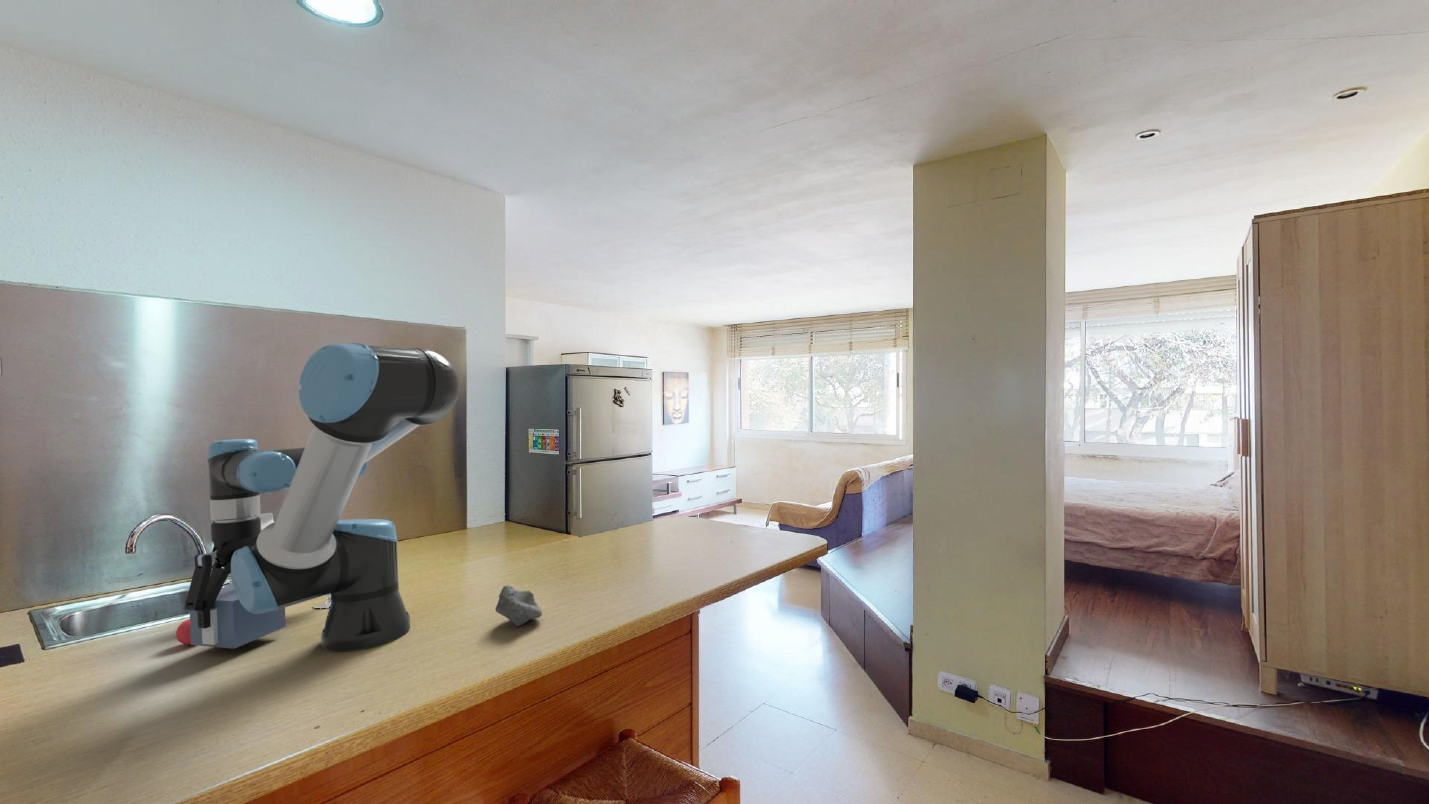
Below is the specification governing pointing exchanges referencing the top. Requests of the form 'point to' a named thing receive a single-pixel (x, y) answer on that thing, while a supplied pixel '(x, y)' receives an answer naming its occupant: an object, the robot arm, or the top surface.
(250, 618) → the blue gray block
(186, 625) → the ball
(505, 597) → the grey rock
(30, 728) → the top surface
